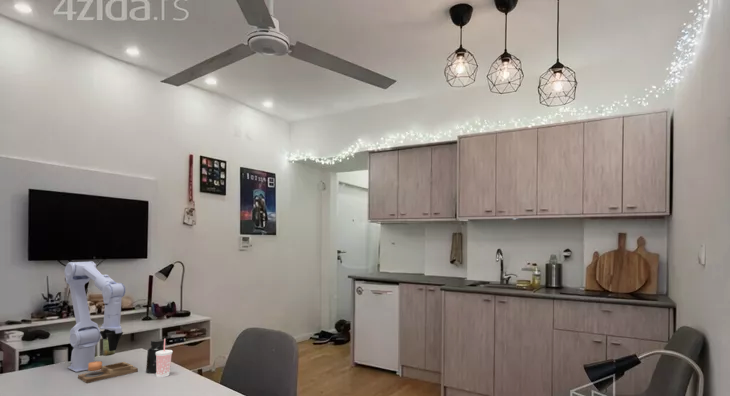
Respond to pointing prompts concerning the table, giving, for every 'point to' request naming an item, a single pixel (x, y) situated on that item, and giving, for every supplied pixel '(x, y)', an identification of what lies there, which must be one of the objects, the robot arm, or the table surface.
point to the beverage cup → (163, 362)
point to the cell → (107, 348)
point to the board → (108, 372)
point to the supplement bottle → (153, 354)
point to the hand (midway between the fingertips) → (110, 349)
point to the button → (95, 366)
